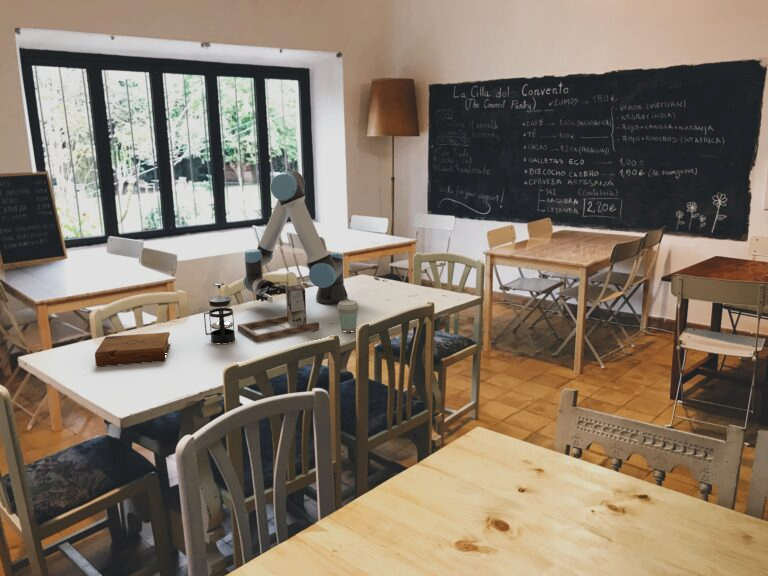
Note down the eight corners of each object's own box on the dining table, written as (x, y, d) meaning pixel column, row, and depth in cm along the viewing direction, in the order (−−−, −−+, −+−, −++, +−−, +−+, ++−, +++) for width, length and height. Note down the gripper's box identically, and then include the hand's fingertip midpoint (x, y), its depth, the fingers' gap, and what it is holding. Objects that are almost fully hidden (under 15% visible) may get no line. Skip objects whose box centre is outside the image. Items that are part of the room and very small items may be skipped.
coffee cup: (360, 327, 262) (359, 299, 259) (357, 334, 254) (356, 305, 251) (339, 327, 263) (339, 299, 260) (336, 334, 255) (335, 305, 252)
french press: (236, 335, 254) (232, 279, 249) (237, 342, 246) (233, 285, 240) (206, 338, 252) (201, 281, 246) (206, 345, 243) (201, 287, 237)
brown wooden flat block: (96, 368, 222) (94, 353, 221) (107, 351, 240) (105, 336, 238) (165, 362, 227) (163, 347, 225) (170, 345, 244) (169, 331, 243)
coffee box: (307, 327, 263) (305, 289, 259) (291, 329, 261) (290, 291, 257) (301, 321, 272) (300, 284, 268) (287, 322, 269) (285, 285, 265)
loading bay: (298, 318, 276) (298, 312, 276) (319, 328, 262) (319, 322, 261) (237, 330, 261) (237, 324, 260) (256, 341, 246) (255, 335, 246)
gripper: (289, 291, 294) (312, 301, 277) (238, 300, 280) (259, 310, 263) (288, 275, 292) (311, 284, 275) (237, 283, 278) (258, 293, 261)
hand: (286, 297), depth 269 cm, fingers open, 13 cm apart
